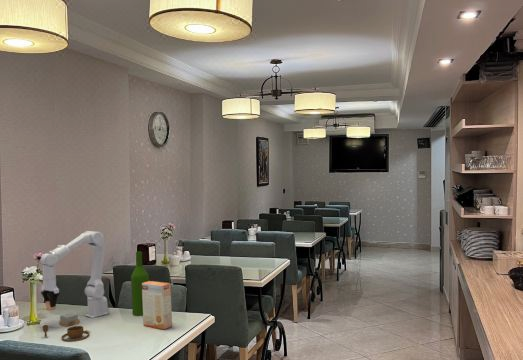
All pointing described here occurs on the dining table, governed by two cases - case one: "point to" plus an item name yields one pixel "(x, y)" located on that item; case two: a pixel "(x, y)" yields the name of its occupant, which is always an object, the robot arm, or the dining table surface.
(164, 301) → the cracker box
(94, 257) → the robot arm
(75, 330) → the place setting
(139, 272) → the wine bottle
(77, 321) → the walnut block
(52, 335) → the dining table surface
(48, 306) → the terracotta cylinder
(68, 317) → the slate block
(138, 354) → the dining table surface
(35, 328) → the dining table surface
